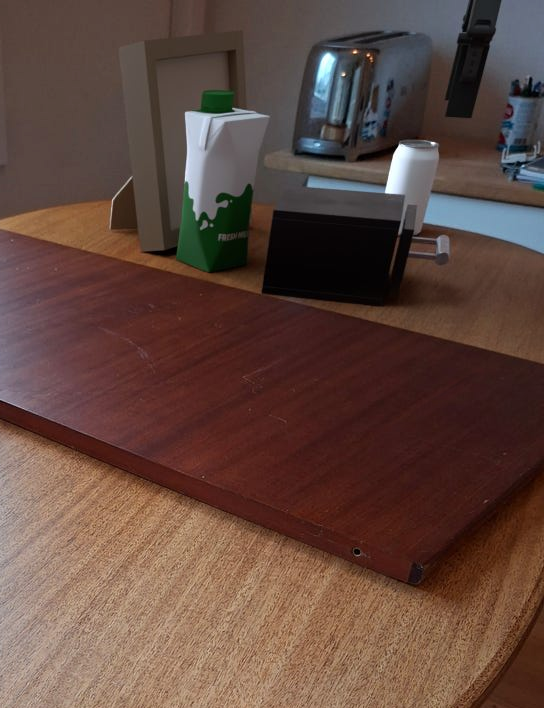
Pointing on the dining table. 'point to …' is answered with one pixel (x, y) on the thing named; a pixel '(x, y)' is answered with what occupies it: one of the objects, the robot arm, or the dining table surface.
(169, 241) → the photo frame
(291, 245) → the cabinet
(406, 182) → the can
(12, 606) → the dining table surface
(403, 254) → the drawer
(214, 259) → the milk carton
